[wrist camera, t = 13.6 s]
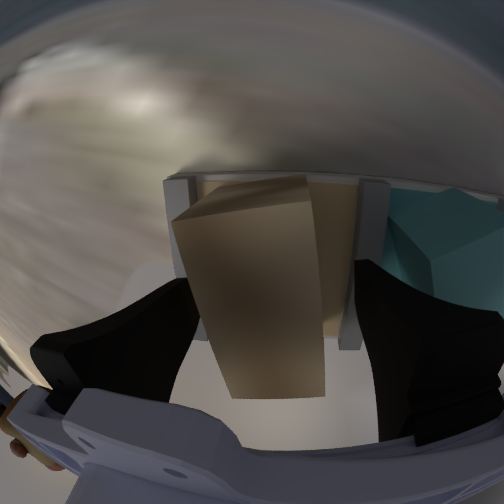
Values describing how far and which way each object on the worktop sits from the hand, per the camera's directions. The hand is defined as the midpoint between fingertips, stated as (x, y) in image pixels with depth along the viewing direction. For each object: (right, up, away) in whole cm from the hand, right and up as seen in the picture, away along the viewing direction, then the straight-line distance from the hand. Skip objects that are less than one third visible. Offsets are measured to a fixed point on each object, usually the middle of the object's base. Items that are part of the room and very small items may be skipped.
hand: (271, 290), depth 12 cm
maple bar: (0, +1, +2) cm, 2 cm away
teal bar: (+9, +1, +1) cm, 9 cm away
